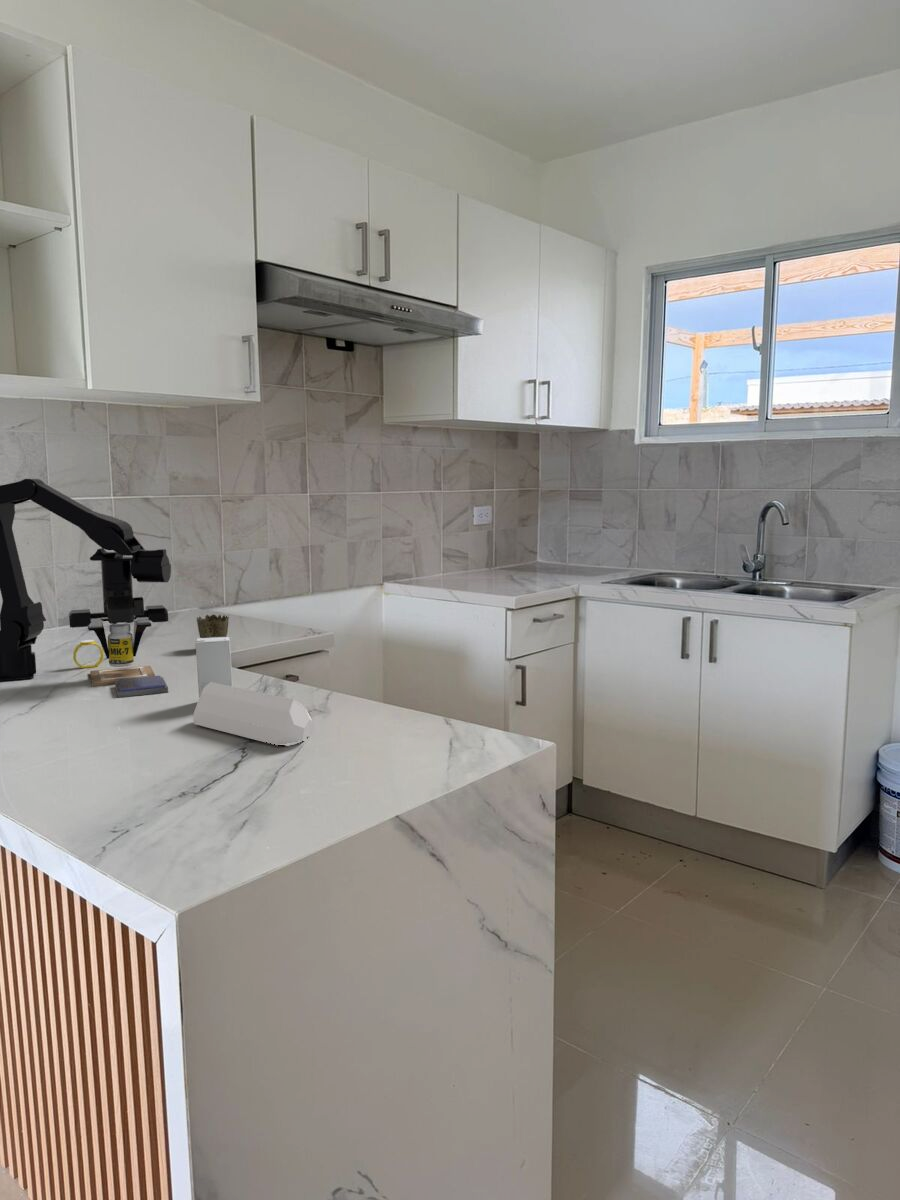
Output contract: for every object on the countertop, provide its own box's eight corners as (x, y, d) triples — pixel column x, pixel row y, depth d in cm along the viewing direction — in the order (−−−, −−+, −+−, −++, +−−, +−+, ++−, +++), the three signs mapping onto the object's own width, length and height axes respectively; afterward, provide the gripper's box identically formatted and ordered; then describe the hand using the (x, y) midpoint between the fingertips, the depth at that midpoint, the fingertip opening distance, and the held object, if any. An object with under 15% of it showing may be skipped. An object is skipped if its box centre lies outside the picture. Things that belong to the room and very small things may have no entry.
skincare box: (233, 699, 156) (231, 635, 154) (233, 705, 152) (230, 640, 150) (199, 701, 155) (196, 637, 153) (198, 707, 150) (195, 641, 149)
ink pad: (118, 697, 157) (117, 689, 157) (115, 686, 165) (114, 679, 165) (168, 692, 161) (167, 684, 161) (162, 682, 169) (162, 674, 169)
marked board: (92, 686, 166) (92, 682, 165) (90, 673, 176) (90, 669, 176) (156, 680, 171) (156, 676, 170) (150, 668, 181) (150, 664, 181)
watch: (76, 671, 180) (72, 644, 179) (74, 668, 182) (70, 642, 181) (105, 666, 183) (102, 639, 182) (103, 663, 185) (99, 637, 184)
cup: (210, 653, 196) (209, 620, 195) (191, 650, 201) (190, 617, 200) (236, 648, 202) (235, 616, 201) (217, 645, 207) (215, 613, 205)
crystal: (175, 705, 138) (277, 730, 125) (204, 677, 143) (306, 698, 129) (195, 737, 142) (296, 764, 129) (223, 708, 147) (324, 732, 133)
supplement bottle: (107, 667, 170) (105, 627, 169) (110, 662, 175) (108, 623, 173) (132, 666, 171) (130, 626, 170) (135, 661, 176) (133, 622, 175)
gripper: (67, 589, 159) (72, 669, 162) (170, 584, 167) (173, 661, 170) (66, 582, 169) (71, 658, 172) (163, 578, 177) (166, 650, 179)
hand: (121, 657), depth 173 cm, fingers closed on supplement bottle, 5 cm apart
